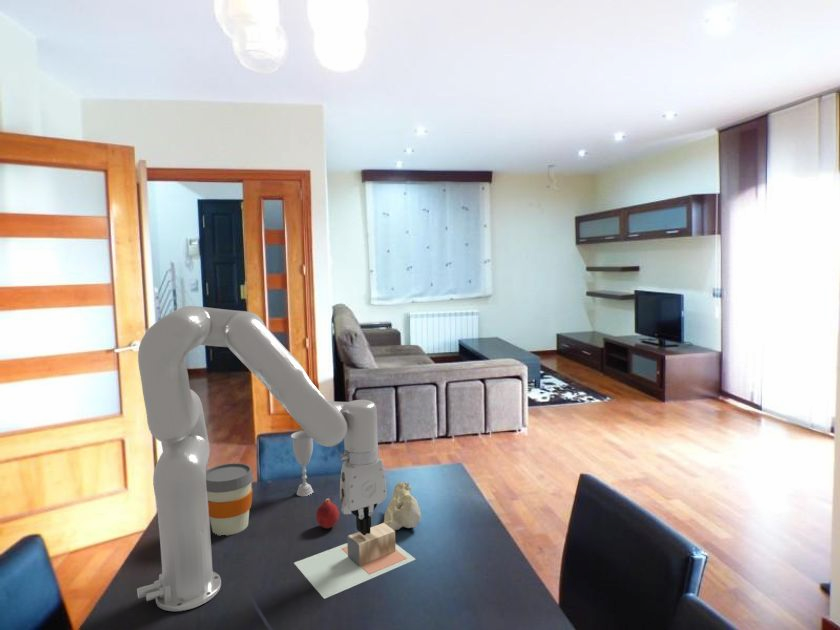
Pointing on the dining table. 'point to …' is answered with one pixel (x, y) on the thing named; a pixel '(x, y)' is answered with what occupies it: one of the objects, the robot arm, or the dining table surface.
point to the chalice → (303, 458)
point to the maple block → (371, 544)
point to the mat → (346, 569)
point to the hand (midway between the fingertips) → (364, 531)
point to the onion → (327, 514)
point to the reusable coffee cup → (229, 497)
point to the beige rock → (402, 508)
